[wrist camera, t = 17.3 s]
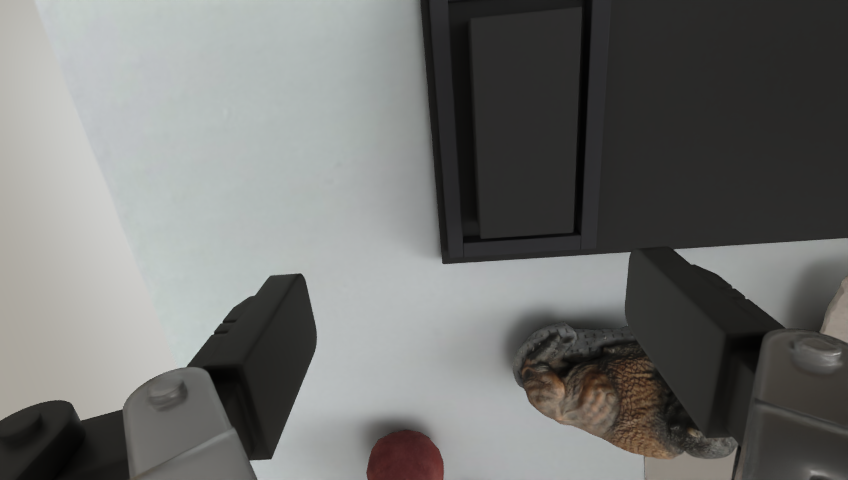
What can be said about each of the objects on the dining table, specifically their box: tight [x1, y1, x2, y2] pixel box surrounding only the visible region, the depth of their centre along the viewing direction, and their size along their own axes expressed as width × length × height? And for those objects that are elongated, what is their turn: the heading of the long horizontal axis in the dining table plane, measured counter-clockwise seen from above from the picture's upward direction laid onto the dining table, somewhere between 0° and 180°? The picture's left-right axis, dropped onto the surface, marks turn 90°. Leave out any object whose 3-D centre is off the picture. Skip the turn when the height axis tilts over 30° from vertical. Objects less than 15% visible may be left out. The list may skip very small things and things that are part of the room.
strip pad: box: [467, 7, 582, 239], centre depth 26 cm, size 12×6×3 cm, turn 5°
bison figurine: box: [513, 322, 738, 460], centre depth 29 cm, size 12×7×10 cm, turn 97°
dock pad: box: [420, 0, 848, 264], centre depth 26 cm, size 38×18×2 cm, turn 95°
